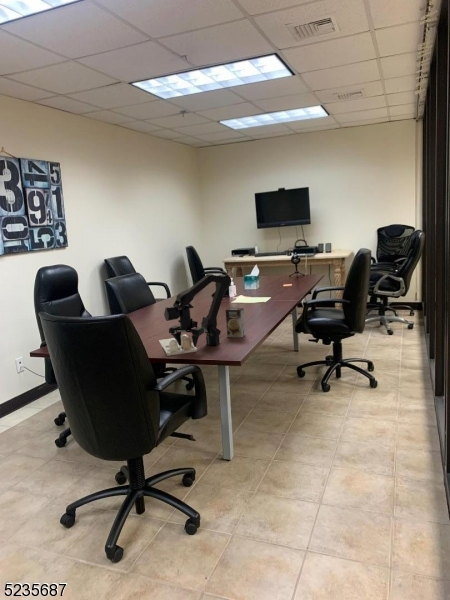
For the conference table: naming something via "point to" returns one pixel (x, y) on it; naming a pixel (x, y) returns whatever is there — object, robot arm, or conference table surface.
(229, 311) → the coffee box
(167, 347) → the egg carton
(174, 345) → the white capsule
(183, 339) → the cream egg back
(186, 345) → the brown egg
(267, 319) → the conference table surface
